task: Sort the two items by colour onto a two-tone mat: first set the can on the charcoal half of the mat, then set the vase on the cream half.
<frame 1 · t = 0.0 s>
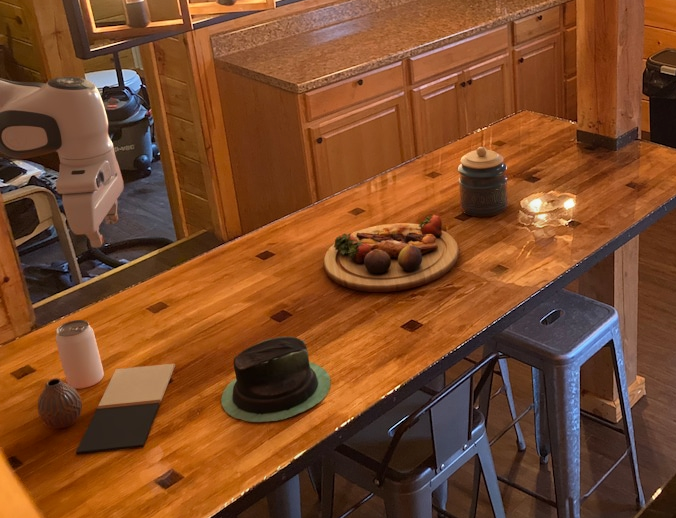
hand: (105, 234, 176), 30 cm above the table, tool pointing down, fingers open, 8 cm apart
sorting mat: (129, 407, 178), on the table
wooden plate: (392, 261, 230), on the table
canister: (484, 208, 258), on the table
can: (86, 380, 185), on the table
vase: (64, 422, 174), on the table
fedora hat: (277, 391, 182), on the table
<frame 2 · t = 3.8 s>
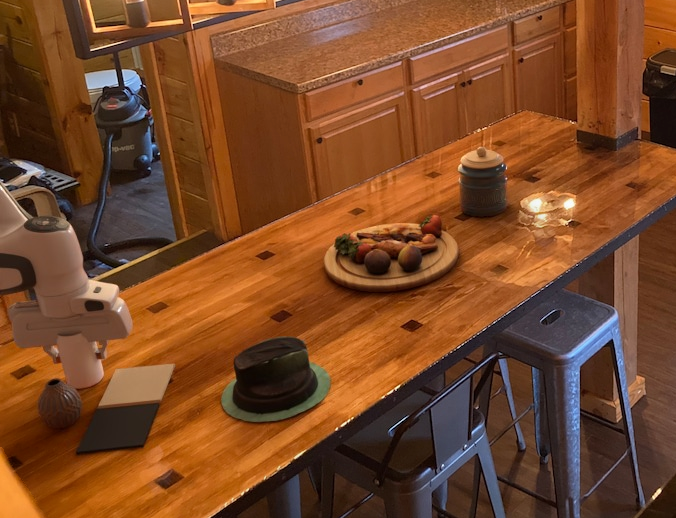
hand: (81, 359, 183), 5 cm above the table, tool pointing down, fingers closed on can, 6 cm apart
can: (86, 381, 185), on the table, touching gripper
everything else where it was.
when the fingers open (5 cm above the table, at t = 11.4 s): can stays where it is, resting on sorting mat.
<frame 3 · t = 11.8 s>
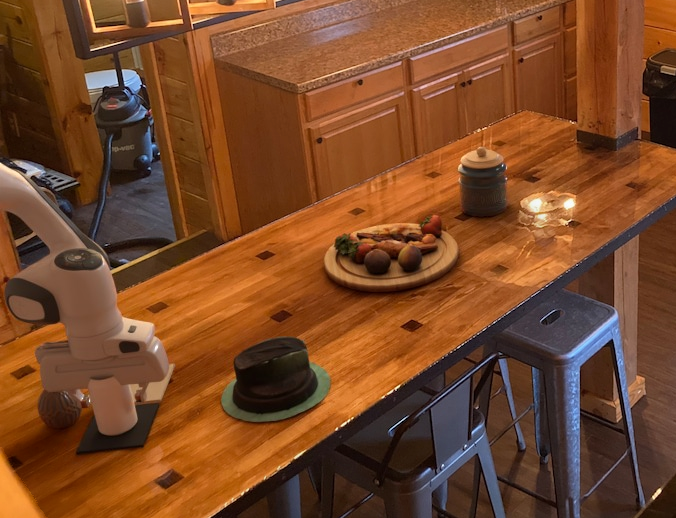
hand: (113, 403, 170), 6 cm above the table, tool pointing down, fingers open, 8 cm apart
can: (118, 426, 172), resting on sorting mat
everything else where it was.
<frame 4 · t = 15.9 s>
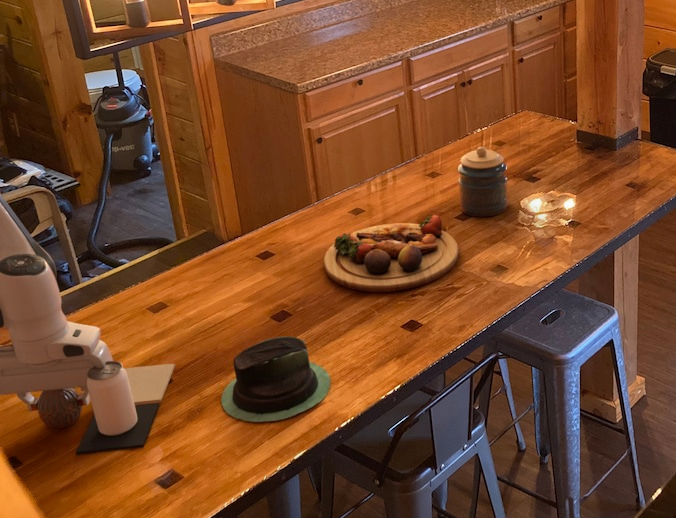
hand: (60, 406, 172), 3 cm above the table, tool pointing down, fingers closed on vase, 7 cm apart
vase: (64, 422, 174), on the table, touching gripper
everything else where it was.
when the fingers open (4 cm above the table, at t = 23.5 s): vase stays where it is, resting on sorting mat.
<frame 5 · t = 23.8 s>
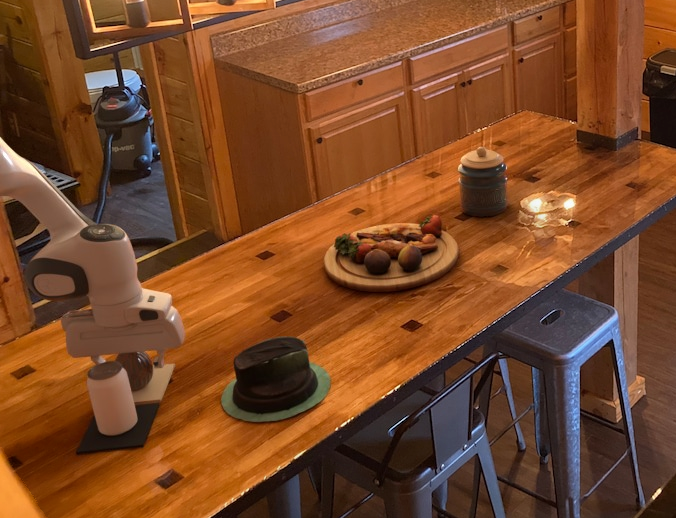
hand: (133, 369, 181), 4 cm above the table, tool pointing down, fingers open, 8 cm apart
vase: (137, 385, 183), resting on sorting mat
everything else where it was.
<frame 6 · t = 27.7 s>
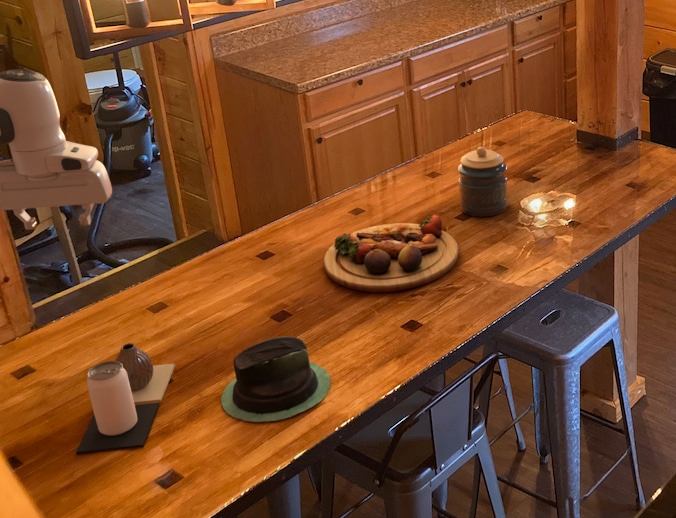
hand: (59, 226, 177), 31 cm above the table, tool pointing down, fingers open, 8 cm apart
nothing on the table moved.
at the end: can inside the target area on the sorting mat (0.4 cm from its centre), point 0.4 cm above the sorting mat's base; vase inside the target area on the sorting mat (0.3 cm from its centre), point 0.4 cm above the sorting mat's base; vase tilted 0° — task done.
